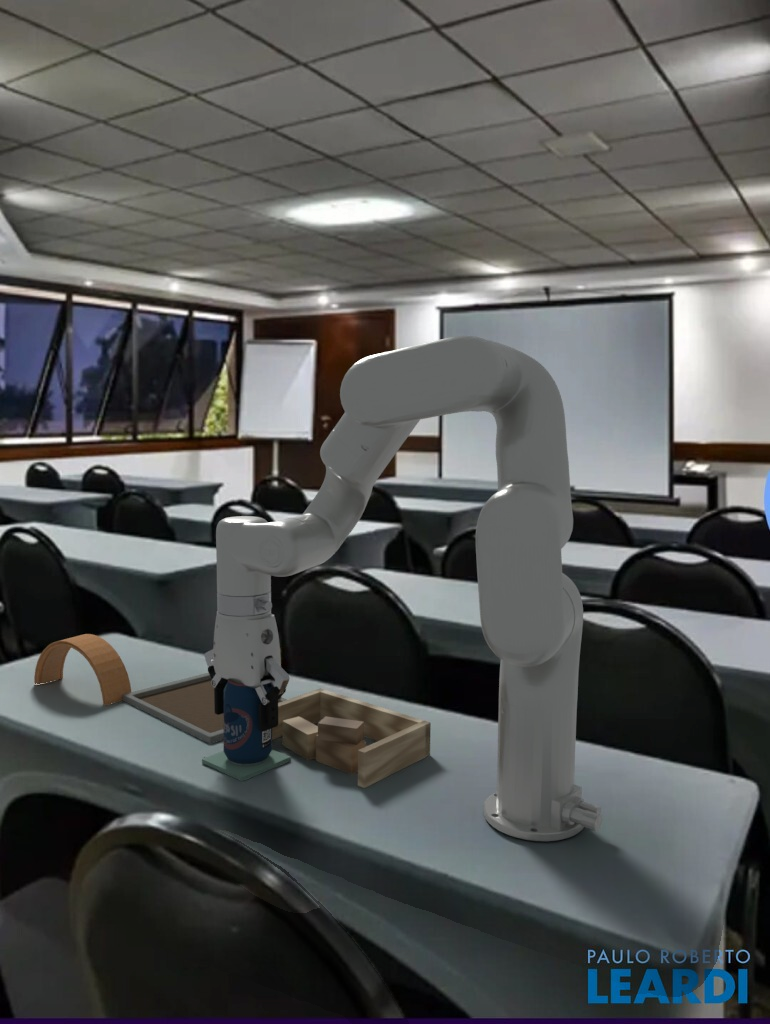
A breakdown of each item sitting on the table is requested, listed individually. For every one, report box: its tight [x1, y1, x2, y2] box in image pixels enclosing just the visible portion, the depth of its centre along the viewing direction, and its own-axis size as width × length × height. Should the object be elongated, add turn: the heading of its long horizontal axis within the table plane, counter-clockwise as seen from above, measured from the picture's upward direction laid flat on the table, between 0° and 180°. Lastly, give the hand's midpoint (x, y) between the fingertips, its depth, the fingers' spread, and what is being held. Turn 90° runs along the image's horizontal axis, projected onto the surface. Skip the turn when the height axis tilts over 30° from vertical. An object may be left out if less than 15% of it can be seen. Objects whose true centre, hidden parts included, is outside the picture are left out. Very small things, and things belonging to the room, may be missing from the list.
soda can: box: [223, 678, 273, 766], centre depth 119 cm, size 7×7×12 cm
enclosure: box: [272, 688, 431, 789], centre depth 124 cm, size 23×15×5 cm, turn 49°
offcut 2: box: [315, 735, 367, 775], centre depth 119 cm, size 7×3×4 cm, turn 51°
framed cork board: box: [122, 672, 288, 745], centre depth 142 cm, size 19×2×30 cm
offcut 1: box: [282, 716, 318, 761], centre depth 124 cm, size 7×3×4 cm, turn 39°
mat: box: [201, 749, 292, 782], centre depth 120 cm, size 9×9×1 cm
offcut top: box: [317, 716, 365, 745], centre depth 119 cm, size 6×3×2 cm, turn 71°
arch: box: [33, 633, 132, 707], centre depth 149 cm, size 6×20×10 cm, turn 57°
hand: (245, 720), depth 119 cm, fingers open, 9 cm apart
